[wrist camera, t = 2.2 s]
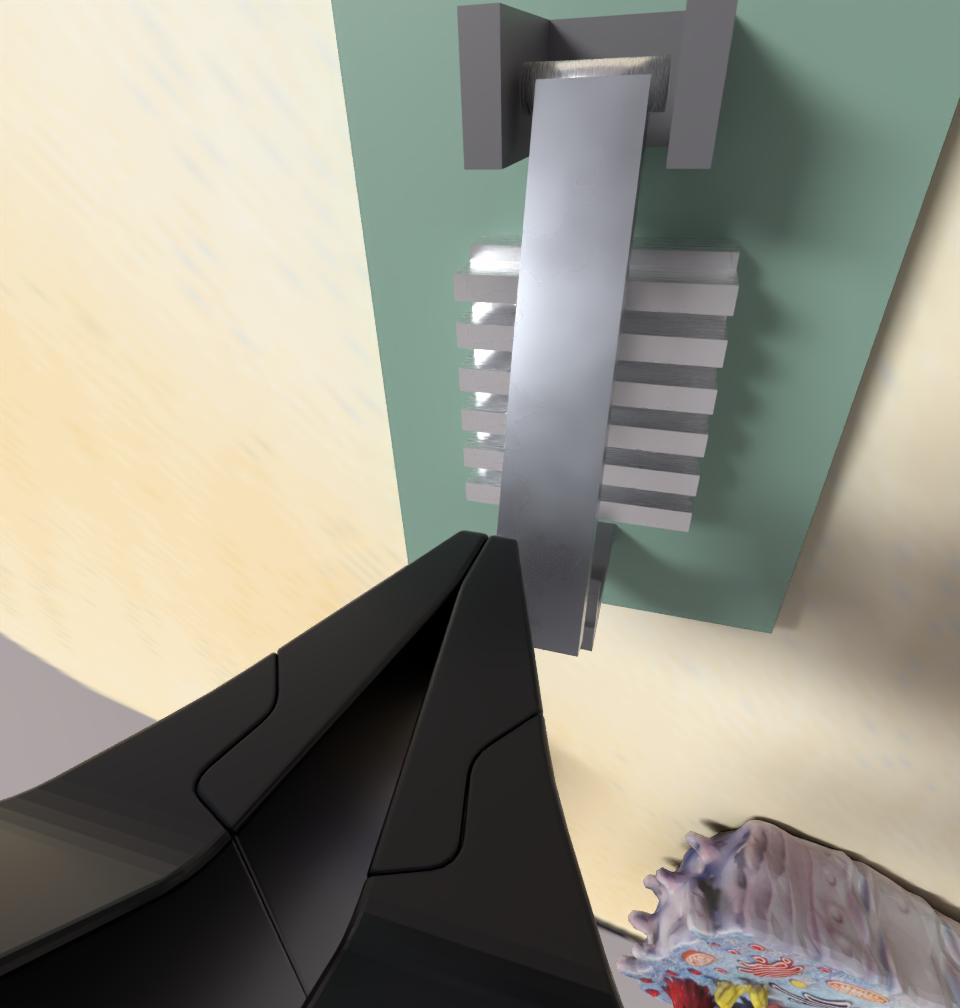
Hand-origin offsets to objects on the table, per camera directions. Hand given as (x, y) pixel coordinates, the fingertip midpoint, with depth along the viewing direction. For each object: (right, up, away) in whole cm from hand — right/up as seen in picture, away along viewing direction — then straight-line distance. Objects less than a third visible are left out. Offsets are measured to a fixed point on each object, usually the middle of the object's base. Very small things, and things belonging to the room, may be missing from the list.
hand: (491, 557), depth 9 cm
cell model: (+19, -21, +25) cm, 38 cm away
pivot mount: (+3, +11, +6) cm, 13 cm away
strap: (+2, +4, +5) cm, 6 cm away
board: (+4, +6, +11) cm, 13 cm away
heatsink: (+4, +5, +10) cm, 12 cm away
